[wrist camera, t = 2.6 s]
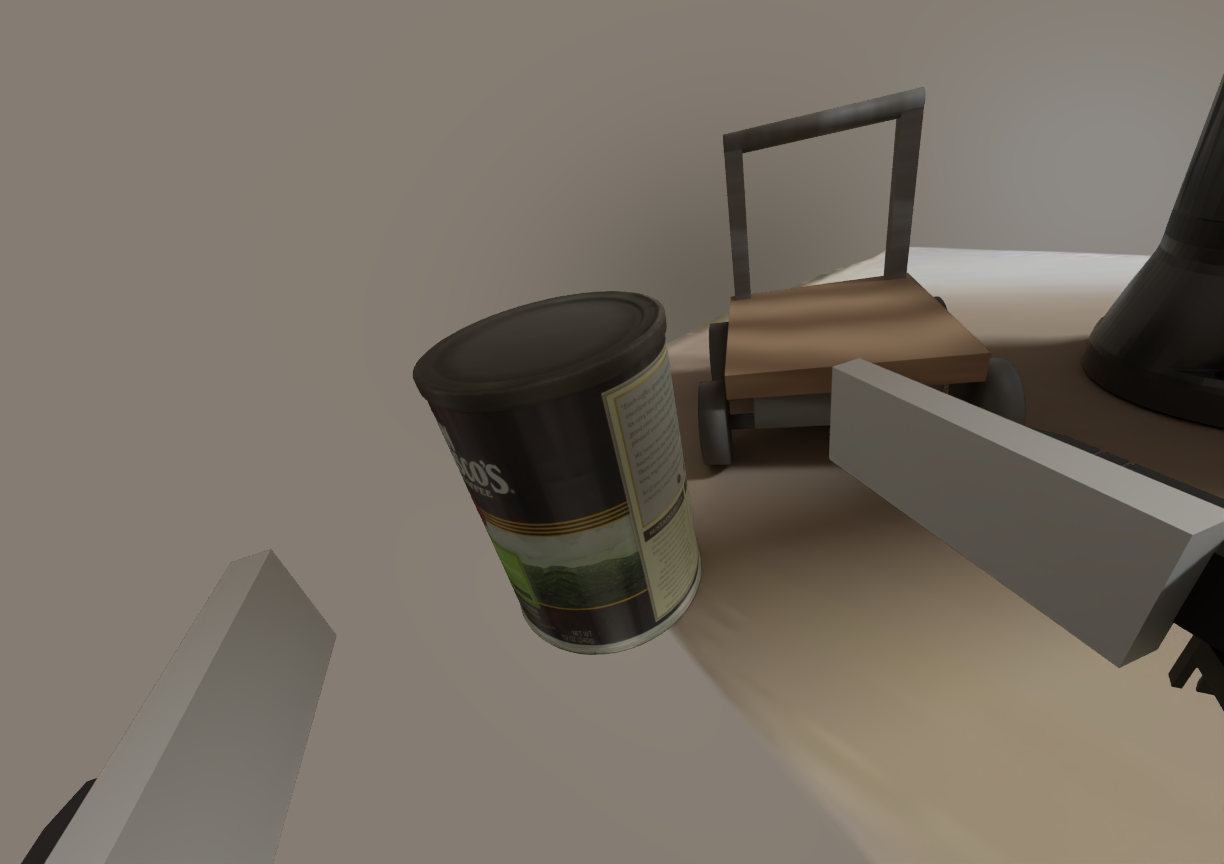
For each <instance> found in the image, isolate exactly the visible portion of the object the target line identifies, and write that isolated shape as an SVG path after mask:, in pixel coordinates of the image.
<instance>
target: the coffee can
mask: <svg viewBox="0 0 1224 864" xmlns="http://www.w3.org/2000/svg"><path fill="white" fill-rule="evenodd" d="M666 327H667V326H666V316H665V310H664V307H663V306H662V304H661V303H660V302H659V301H657V300H655V299H654V298H652V297H649V296H646V295H643V294H638V293H630V292H618V291H617V292H616V291H607V292H590V293H581V294H573V295H567V296H560V297H555V298H551V299H546V300H542V301H538V302H534V303H530V304H527V305H523V306H519V307H516V308H513V309H510V310H507V311H503V312H501V313H498V314H495V315H492V316H490V317H487V318H485V319H482V320H480V321H478V322H476V323H473V324H471V325H469V326H467V327H465V328H463V329H461V330H459V331H457V332H455V333H453V334H452V335H450V336H448V337H446V338H445V339H443V340H441V341H440V342H439V343H437V344H436V345H435V346H433V347H432V348H431V349H430V350H428V351H427V352H426V353H425V354H424V355H423V356H422V357H421V358H420V359H419V360H418V362H417V363H416V365H415V367H414V370H413V379H414V381H415V383H416V385H417V387H418V389H419V391H420V393H421V395H422V396H423V397H424V398H425V399H426V400H427V401H428V403H429V406H430V407H431V410H432V412H433V414H434V416H435V418H436V420H437V422H438V425H439V427H440V429H441V431H442V434H443V436H444V438H445V441H446V442H447V444H448V446H449V449H450V451H451V453H452V455H453V457H454V459H455V462H456V465H457V466H458V468H459V470H460V473H461V475H462V477H463V479H464V482H465V484H466V486H467V488H468V491H469V493H470V494H471V497H472V500H473V502H474V504H475V506H476V508H477V510H478V512H479V514H480V516H481V518H482V521H483V523H484V525H485V528H486V530H487V532H488V534H489V536H490V538H491V540H492V543H493V545H494V547H495V549H496V552H497V554H498V556H499V558H500V560H501V562H502V564H503V566H504V569H505V571H506V573H507V575H508V578H509V580H510V582H511V584H512V587H513V589H514V591H515V594H516V595H517V598H518V600H519V602H520V605H521V609H522V613H523V616H524V618H525V620H526V621H527V623H528V624H529V626H530V627H531V628H532V630H533V631H534V632H535V633H536V634H537V635H538V636H539V637H541V638H542V639H544V640H545V641H546V642H548V643H550V644H551V645H553V646H555V647H558V648H560V649H563V650H566V651H569V652H573V653H578V654H589V655H590V654H591V655H593V654H594V655H595V654H609V653H616V652H621V651H625V650H628V649H631V648H634V647H636V646H639V645H642V644H644V643H646V642H648V641H650V640H652V639H654V638H655V637H657V636H659V635H660V634H662V633H663V632H665V631H666V630H667V629H669V628H670V627H671V626H672V625H673V624H674V623H675V622H676V621H677V620H678V619H679V618H680V617H681V616H682V615H683V613H684V612H685V611H686V610H687V608H688V607H689V605H690V604H691V602H692V600H693V598H694V596H695V594H696V592H697V589H698V586H699V582H700V578H701V571H702V567H701V557H700V553H699V549H698V546H697V542H696V535H695V529H694V522H693V515H692V508H691V502H690V495H689V489H688V483H687V476H686V469H685V463H684V457H683V450H682V443H681V437H680V430H679V424H678V417H677V410H676V404H675V397H674V390H673V384H672V377H671V370H670V363H669V356H668V350H667V343H666V337H665V332H666Z"/></svg>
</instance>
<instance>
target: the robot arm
mask: <svg viewBox="0 0 1224 864" xmlns="http://www.w3.org/2000/svg"><path fill="white" fill-rule="evenodd" d="M1083 367H1084V369H1085V371H1086V373H1087V374H1088V375H1089V376H1090V377H1091V378H1092V379H1093V380H1094V381H1095V382H1096V383H1098V384H1099V385H1100V386H1102V387H1103V388H1105V389H1107V390H1108V391H1110V392H1112V393H1114V394H1116V395H1118V396H1120V397H1122V398H1124V399H1126V400H1129V401H1131V402H1134V403H1136V404H1139V405H1141V406H1144V407H1147V408H1150V409H1153V410H1156V411H1159V412H1162V413H1165V414H1169V415H1172V416H1176V417H1180V418H1183V419H1187V420H1191V421H1195V422H1199V423H1204V424H1208V425H1213V426H1218V427H1223V428H1224V75H1223V77H1222V80H1221V83H1220V86H1219V88H1218V91H1217V93H1216V96H1215V99H1214V101H1213V104H1212V107H1211V109H1210V112H1209V114H1208V117H1207V120H1206V123H1205V125H1204V128H1203V130H1202V133H1201V136H1200V139H1199V141H1198V144H1197V147H1196V149H1195V152H1194V154H1193V157H1192V159H1191V162H1190V165H1189V167H1188V170H1187V173H1186V176H1185V178H1184V181H1183V183H1182V186H1181V189H1180V191H1179V194H1178V197H1177V199H1176V202H1175V205H1174V208H1173V210H1172V213H1171V216H1170V218H1169V221H1168V224H1167V227H1166V230H1165V233H1164V235H1163V238H1162V241H1161V243H1160V245H1159V246H1158V248H1157V249H1156V251H1155V252H1154V253H1153V255H1152V256H1151V257H1150V259H1149V260H1148V261H1147V262H1146V263H1145V265H1144V266H1143V267H1142V268H1141V270H1140V271H1139V272H1138V273H1137V274H1136V276H1135V277H1134V278H1133V279H1132V281H1131V282H1130V283H1129V284H1128V286H1127V287H1126V288H1125V289H1124V291H1123V292H1122V293H1121V295H1120V296H1119V297H1118V299H1117V300H1116V301H1115V302H1114V304H1113V305H1112V307H1111V308H1110V309H1109V311H1108V312H1107V313H1106V315H1105V316H1104V317H1102V318H1101V319H1100V320H1099V322H1098V323H1097V324H1096V325H1095V327H1094V329H1093V331H1092V333H1091V335H1090V338H1089V341H1088V345H1087V348H1086V351H1085V354H1084V357H1083ZM829 459H830V460H831V461H833V462H834V463H835V464H837V465H838V466H839V467H841V468H842V469H844V470H845V471H846V472H848V473H849V474H851V475H852V476H853V477H855V478H856V479H857V480H859V481H860V482H862V483H863V484H864V485H866V486H867V487H869V488H870V489H871V490H873V491H874V492H876V493H877V494H878V495H880V496H881V497H882V498H884V499H885V500H887V501H888V502H889V503H891V504H892V505H894V506H895V507H896V508H898V509H899V510H900V511H902V512H903V513H905V514H906V515H907V516H909V517H910V518H912V519H913V520H914V521H916V522H917V523H919V524H920V525H921V526H923V527H924V528H925V529H927V530H928V531H930V532H931V533H932V534H934V535H935V536H937V537H938V538H939V539H941V540H942V541H943V542H945V543H946V544H948V545H949V546H950V547H952V548H953V549H955V550H956V551H957V552H959V553H960V554H962V555H963V556H964V557H966V558H967V559H968V560H970V561H971V562H973V563H974V564H975V565H977V566H978V567H980V568H981V569H982V570H984V571H985V572H986V573H988V574H989V575H991V576H992V577H993V578H995V579H996V580H998V581H999V582H1000V583H1002V584H1003V585H1005V586H1006V587H1007V588H1009V589H1010V590H1011V591H1013V592H1014V593H1016V594H1017V595H1018V596H1020V597H1021V598H1023V599H1024V600H1025V601H1027V602H1028V603H1029V604H1031V605H1032V606H1034V607H1035V608H1036V609H1038V610H1039V611H1041V612H1042V613H1043V614H1045V615H1046V616H1048V617H1049V618H1050V619H1052V620H1053V621H1054V622H1056V623H1057V624H1059V625H1060V626H1061V627H1063V628H1064V629H1066V630H1067V631H1068V632H1070V633H1071V634H1072V635H1074V636H1075V637H1077V638H1078V639H1079V640H1081V641H1082V642H1084V643H1085V644H1086V645H1088V646H1089V647H1091V648H1092V649H1093V650H1095V651H1096V652H1097V653H1099V654H1100V655H1102V656H1103V657H1104V658H1106V659H1107V660H1109V661H1110V662H1111V663H1113V664H1114V665H1115V666H1117V667H1118V668H1120V667H1122V666H1124V665H1126V664H1129V663H1131V662H1133V661H1135V660H1137V659H1139V658H1141V657H1143V656H1145V655H1147V654H1149V653H1151V652H1153V651H1155V650H1157V649H1158V648H1159V646H1160V644H1161V643H1162V641H1163V639H1164V638H1165V636H1166V634H1167V633H1168V631H1169V629H1170V628H1171V626H1172V624H1173V623H1175V624H1177V625H1178V626H1180V627H1182V628H1183V629H1185V630H1187V631H1188V632H1190V633H1192V634H1193V636H1192V638H1191V639H1190V641H1189V642H1188V644H1187V646H1186V647H1185V649H1184V650H1183V652H1182V653H1181V655H1180V656H1179V658H1178V659H1177V661H1176V663H1175V664H1174V666H1173V667H1172V669H1171V670H1170V672H1169V678H1170V682H1171V686H1172V687H1176V688H1181V689H1182V687H1183V686H1184V685H1185V683H1186V682H1187V680H1188V679H1189V677H1190V676H1191V674H1192V673H1193V671H1194V670H1195V669H1196V668H1198V669H1199V670H1200V672H1201V674H1202V677H1201V678H1200V679H1199V681H1198V683H1197V686H1196V691H1197V692H1201V693H1206V694H1211V695H1214V696H1215V697H1216V699H1217V701H1218V702H1219V704H1220V706H1221V707H1222V709H1223V711H1224V499H1222V498H1220V497H1217V496H1215V495H1212V494H1210V493H1207V492H1205V491H1202V490H1200V489H1197V488H1195V487H1192V486H1190V485H1187V484H1185V483H1182V482H1180V481H1177V480H1175V479H1172V478H1170V477H1167V476H1165V475H1162V474H1160V473H1157V472H1155V471H1152V470H1150V469H1147V468H1145V467H1143V466H1140V465H1138V464H1135V465H1131V464H1129V461H1128V460H1125V459H1123V458H1120V457H1118V456H1115V455H1113V454H1110V453H1108V452H1106V453H1101V452H1100V449H1098V448H1095V447H1093V446H1090V445H1088V444H1085V443H1083V442H1080V441H1078V440H1075V439H1073V438H1070V437H1068V436H1064V435H1060V434H1055V433H1051V432H1047V431H1042V430H1038V429H1033V428H1028V427H1025V426H1023V425H1020V424H1018V423H1015V422H1013V421H1011V420H1008V419H1006V418H1003V417H1001V416H998V415H996V414H994V413H991V412H989V411H986V410H984V409H982V408H979V407H977V406H974V405H972V404H969V403H967V402H965V401H962V400H960V399H957V398H955V397H953V396H950V395H948V394H945V393H943V392H940V391H938V390H936V389H933V388H931V387H928V386H926V385H923V384H921V383H919V382H916V381H914V380H911V379H909V378H907V377H904V376H902V375H899V374H897V373H894V372H892V371H890V370H887V369H885V368H882V367H880V366H878V365H875V364H873V363H870V362H868V361H865V360H863V359H861V358H858V359H855V360H852V361H849V362H846V363H843V364H839V365H836V366H833V367H832V392H831V419H830V446H829ZM335 639H336V634H335V633H334V632H333V630H332V629H331V628H330V626H329V625H328V623H327V622H326V621H325V619H324V618H323V617H322V616H321V614H320V613H319V612H318V610H317V609H316V608H315V607H314V605H313V604H312V602H311V601H310V600H309V599H308V597H307V596H306V595H305V593H304V592H303V591H302V589H301V588H300V587H299V585H298V584H297V583H296V581H295V580H294V579H293V577H292V576H291V575H290V573H289V572H288V571H287V570H286V568H285V567H284V566H283V564H282V563H281V562H280V560H279V559H278V558H277V556H276V555H275V554H274V553H273V551H272V550H267V551H264V552H261V553H258V554H255V555H252V556H249V557H246V558H243V559H240V560H237V561H233V562H231V563H230V565H229V567H228V568H227V570H226V571H225V573H224V575H223V576H222V578H221V580H220V581H219V583H218V584H217V586H216V588H215V589H214V591H213V593H212V594H211V596H210V597H209V599H208V600H207V602H206V604H205V605H204V607H203V609H202V610H201V612H200V613H199V615H198V617H197V618H196V620H195V621H194V623H193V625H192V627H191V628H190V630H189V631H188V633H187V634H186V636H185V638H184V639H183V641H182V642H181V644H180V646H179V647H178V649H177V651H176V652H175V654H174V655H173V657H172V659H171V660H170V662H169V663H168V665H167V667H166V668H165V670H164V671H163V673H162V675H161V676H160V678H159V680H158V681H157V683H156V684H155V686H154V688H153V689H152V691H151V693H150V694H149V696H148V697H147V699H146V701H145V702H144V704H143V705H142V707H141V709H140V710H139V712H138V714H137V715H136V717H135V718H134V720H133V722H132V723H131V725H130V726H129V728H128V730H127V731H126V733H125V734H124V736H123V738H122V739H121V741H120V743H119V744H118V746H117V747H116V749H115V751H114V752H113V754H112V755H111V757H110V759H109V760H108V762H107V764H106V765H105V767H104V768H103V770H102V772H101V773H100V775H99V776H98V778H96V779H93V780H90V781H88V782H86V783H85V784H84V785H83V787H82V788H81V789H80V790H79V791H78V792H77V793H76V794H75V795H74V796H73V797H72V799H71V800H70V801H69V802H68V803H67V804H66V805H65V806H64V807H63V809H62V810H61V811H60V812H59V813H58V814H57V815H56V816H55V817H54V819H52V821H51V822H50V823H49V824H48V825H47V826H46V827H45V828H44V830H43V831H42V833H41V834H40V836H39V837H38V839H37V840H36V842H35V843H34V845H33V846H32V848H31V850H30V851H29V852H28V854H27V855H26V857H25V859H24V860H23V862H22V863H21V864H273V861H274V857H275V854H276V850H277V847H278V843H279V839H280V836H281V832H282V828H283V825H284V821H285V818H286V814H287V811H288V807H289V804H290V800H291V796H292V793H293V789H294V786H295V782H296V779H297V774H298V771H299V768H300V764H301V761H302V757H303V753H304V750H305V746H306V743H307V739H308V736H309V732H310V728H311V725H312V721H313V718H314V713H315V710H316V707H317V703H318V700H319V696H320V693H321V689H322V685H323V682H324V678H325V675H326V671H327V668H328V664H329V660H330V657H331V653H332V650H333V646H334V642H335Z"/></svg>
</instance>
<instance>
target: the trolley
mask: <svg viewBox="0 0 1224 864" xmlns="http://www.w3.org/2000/svg"><path fill="white" fill-rule="evenodd" d="M924 104H925V89H924V87H921V88H917V89H913V90H909V91H905V92H900V93H896V94H892V95H888V96H883V97H880V98H875V99H871V100H867V101H862V102H859V103H854V104H850V105H846V106H841V107H837V108H833V109H829V110H825V111H821V112H816V113H813V114H808V115H804V116H800V117H795V118H791V119H787V120H783V121H779V122H775V123H770V124H767V125H762V126H758V127H754V128H749V129H745V130H741V131H737V132H733V133H729V134H724V135H723V145H724V156H725V170H726V183H727V196H728V208H729V222H730V235H731V248H732V261H733V274H734V285H735V296H733V297H731V302H730V314H729V322H722V323H714V324H710V327H709V350H710V365H711V374H712V381H710V382H701V383H700V386H699V395H698V419H699V435H700V444H701V451H702V457H703V461H704V464H705V465H730V464H731V460H732V433H731V430H735V429H754V428H755V429H764V428H783V427H802V426H821V425H830V419H831V392H832V367H833V366H836V365H839V364H843V363H846V362H849V361H852V360H855V359H858V358H861V359H863V360H865V361H868V362H870V363H873V364H875V365H878V366H880V367H882V368H885V369H887V370H890V371H892V372H894V373H897V374H899V375H902V376H904V377H907V378H909V379H911V380H914V381H916V382H919V383H921V384H923V385H926V386H928V387H931V388H933V389H936V390H938V391H940V392H942V389H943V384H949V391H948V395H950V396H953V397H955V398H957V399H960V400H962V401H965V402H967V403H969V404H972V405H974V406H977V407H979V408H982V409H984V410H986V411H989V412H991V413H994V414H996V415H998V416H1001V417H1003V418H1006V419H1008V420H1011V421H1013V422H1015V423H1018V424H1020V425H1023V426H1024V425H1025V414H1026V408H1025V396H1024V390H1023V386H1022V383H1021V379H1020V377H1019V374H1018V372H1017V371H1016V369H1015V367H1014V366H1013V364H1012V363H1011V362H1010V361H1008V360H1007V359H1005V358H1002V357H995V358H990V357H991V352H990V351H989V350H988V349H987V348H986V347H985V346H984V345H983V344H982V343H981V342H980V341H979V340H978V339H977V338H976V337H975V336H973V335H972V334H971V333H970V332H969V331H968V330H967V329H966V328H965V327H964V326H963V325H962V324H961V323H960V322H959V321H958V320H957V319H956V318H955V317H954V316H953V315H951V314H950V313H949V312H948V311H947V308H946V305H945V303H944V301H943V300H942V299H941V298H940V297H933V296H932V295H930V294H929V293H928V292H927V291H926V290H925V289H924V288H923V287H922V286H921V285H920V284H919V283H918V282H917V281H916V280H915V279H914V278H913V277H912V276H911V275H910V274H908V273H906V272H907V263H908V253H909V244H910V234H911V225H912V215H913V205H914V196H915V186H916V177H917V167H918V158H919V157H918V156H919V148H920V139H921V129H922V120H923V110H924ZM893 119H896V131H895V144H894V156H893V168H892V181H891V193H890V205H889V217H888V231H887V242H886V254H885V267H884V276H879V277H872V278H865V279H857V280H850V281H843V282H835V283H828V284H821V285H813V286H806V287H799V288H791V289H785V290H777V291H769V292H762V293H755V294H751V290H750V275H749V257H748V242H747V225H746V208H745V191H744V174H743V159H742V153H746V152H750V151H755V150H759V149H764V148H769V147H773V146H778V145H782V144H786V143H791V142H795V141H800V140H804V139H808V138H813V137H818V136H822V135H827V134H831V133H835V132H840V131H844V130H849V129H853V128H858V127H862V126H867V125H871V124H875V123H880V122H884V121H889V120H893ZM746 398H753V401H754V413H749V414H733V415H731V414H730V402H729V400H732V399H746Z"/></svg>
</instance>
